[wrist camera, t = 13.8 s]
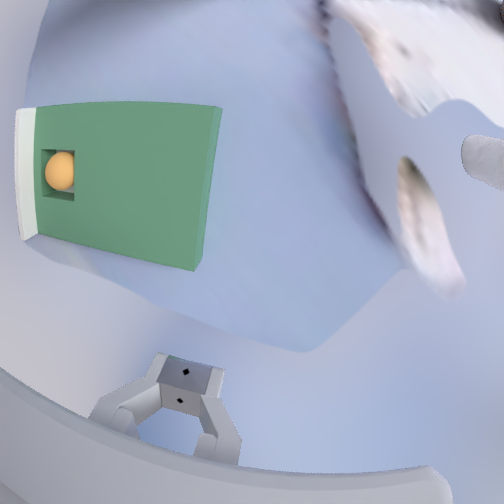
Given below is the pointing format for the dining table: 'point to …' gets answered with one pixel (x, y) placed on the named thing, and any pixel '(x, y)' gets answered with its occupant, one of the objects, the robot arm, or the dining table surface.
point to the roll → (484, 159)
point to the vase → (502, 10)
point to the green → (120, 177)
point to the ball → (60, 171)
